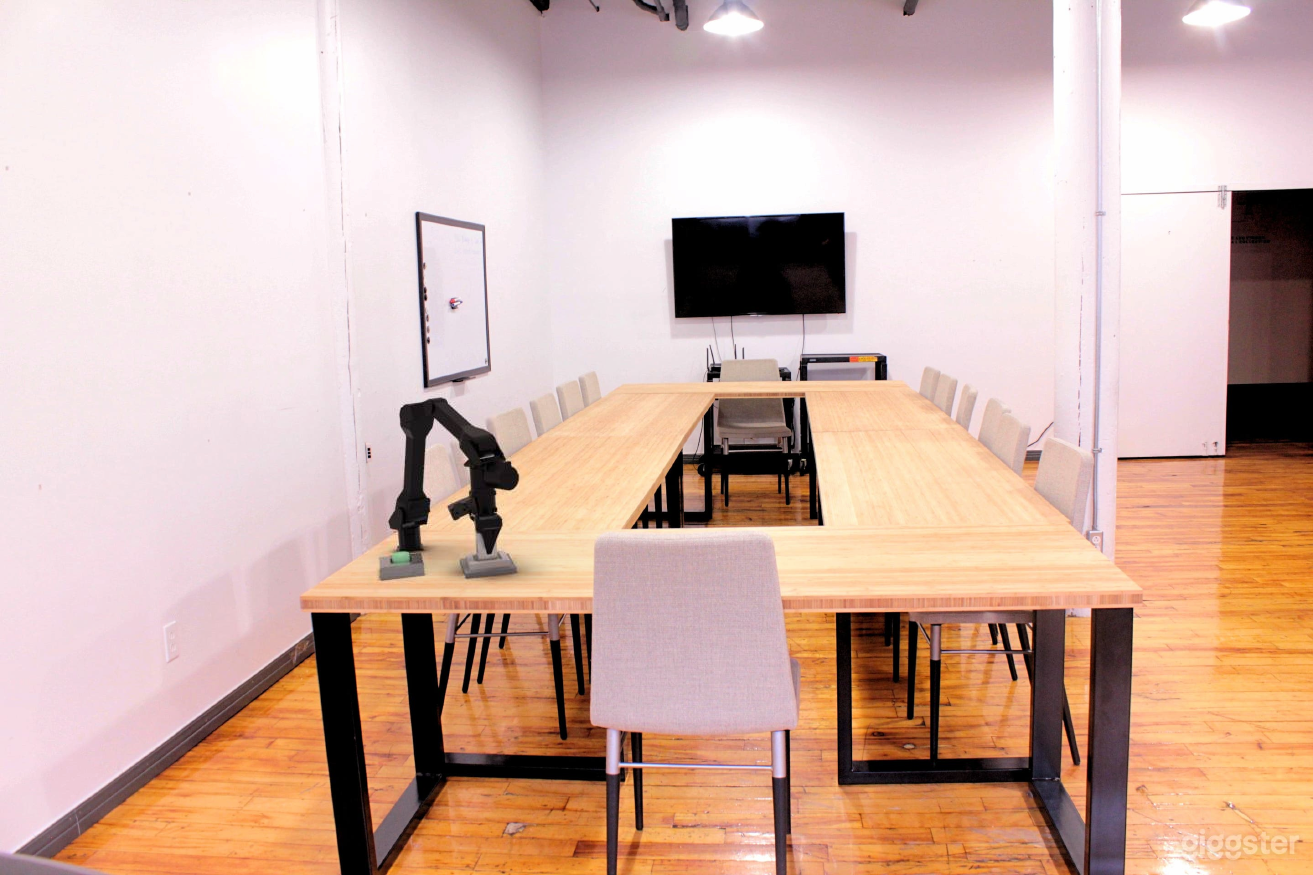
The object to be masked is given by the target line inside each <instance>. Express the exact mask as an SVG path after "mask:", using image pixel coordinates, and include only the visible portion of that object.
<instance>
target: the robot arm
mask: <svg viewBox="0 0 1313 875" xmlns="http://www.w3.org/2000/svg"><path fill="white" fill-rule="evenodd" d="M398 414H399V415H398V416H399V426H400V428H401V430H402V431H403V433H404V435H405V446H404V448H405V449H404V452H405V453H404V467H403V468H404V471H403V485H402V486H403V487H402V488H403V489H402V490H401V492H400V494H398V496H397V498H396V501H395V507H394V510H393V512H392V514H391V516H390V517H389V519H388V522H387V523H388V526H389V528H390V529H391V530H395V531H397V538H398V545H397V546H396V547H397V548H396V549H397V552H409V553H416V552H422V551H425V550H424V549H425V548H424V545H423V543H422V536H421V526H425V525H426V526H427V524H428V522H429V521H428V520H429V515H430V513H431V501H432V500H431V498H430V497H428V496H427V495H426V493H425V491H424V480H425V465H426V464H425V463H426V462H425V461H426V448H427V447H426V444H427V437H428V436H429V434H430V432H431V431H432V429H433V427H434V424H435V423H434V422H435V420H436V421H437V423H438V424H440V425H441V426H442V427H443V428H445V430H447V432H449V434H451V435H452V436H453V437H454V438H455V439H456V440H457V441H458V445H459V449H460V451H461V452H462V453H463V455H465V457H466V458H467V460H466V461H465V462H464V463H463V466H464V467H465V468H468V470H469V482H470V485H469V486H470V489H469V490H468V496H466V497H464V498H463V497H462V498H461V499H459V500H457V501H454V502H452V503H450V504H448V505H447V506H446V507H447V510H448V512H449V514H450V516H451V518H452V520H453V521H458V520H460V518H462V517H465V516H467V515H468V516H469V518H470V520H471V521H472V522H473V524H474V530H475V529H476V531H477V532H479V533H480V534H482V538H483V542H484V545H485V549H486V553H487V555H489V554H492V551H493V548H494V546H495V543H496V541H498V537H499V534H500V532H501V531H502V528H503V527H504V525H503V523H504V522H503V518H502V516H501V515H500V514H498V513H499V512H498V507H497V502H496V500H497V498H496V496H497V490H502V491H513V490H514V489H516V487H517V486H518V484H519V481H520V475H519V472H518V470H517V468H515V467H514V466H512V461H511V460H507V459H506V456H505V453H504V452H503V451H502V449H501V446H500V444H499V443H498V441H497V439H496V437H495V435H494V434H493V433H491V432H489V431H488V430H486V429H484V428H482V427H477V426H475V425H473V424H472V423H471V422H470V421H468V420H467V419H466V418H465V417H464V416H463V415H462V414H460V412H458V410H456V409H455V408H454V407H452V406H451V404H449V402H448V400H447V399H446V398H445V397H433V398H427V399H426V400H423V401H420V402H412V403H405V404H403V405H402V407H400V410H399V413H398Z"/></svg>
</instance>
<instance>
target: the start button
mask: <svg viewBox="0 0 1313 875" xmlns="http://www.w3.org/2000/svg"><path fill="white" fill-rule="evenodd" d="M409 554H410V552H398V551H397V552H393V553H392V554H391V556H392V561H393V563H402V562H410V558H409Z"/></svg>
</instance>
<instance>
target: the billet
mask: <svg viewBox="0 0 1313 875" xmlns="http://www.w3.org/2000/svg"><path fill="white" fill-rule="evenodd" d="M474 535H475V536H474V537H475V550H476V553H477V562H480V561H489V560H498V557H497V551H498V545H497V544H498V543H497V541H498V540H496V543H495V546H494V548H493V551H492V554H489V555H487V553H486V549H485V545H484V542H483V538H482V534H480V533H479V532H477V531H476V529H475V528H474Z"/></svg>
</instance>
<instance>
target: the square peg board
mask: <svg viewBox="0 0 1313 875" xmlns="http://www.w3.org/2000/svg"><path fill="white" fill-rule="evenodd" d="M409 558H410V562H402V563H393V561H392V555H387V556H386V555H385V556H380V557H378V560H379V573H380V575H379V576H380V580H381V581H383V580H392V579H402V578H412V577H418V576H419V577H420V576H425V566H424V559H423V554H422V552H417V553H416V552H412V553H409Z"/></svg>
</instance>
